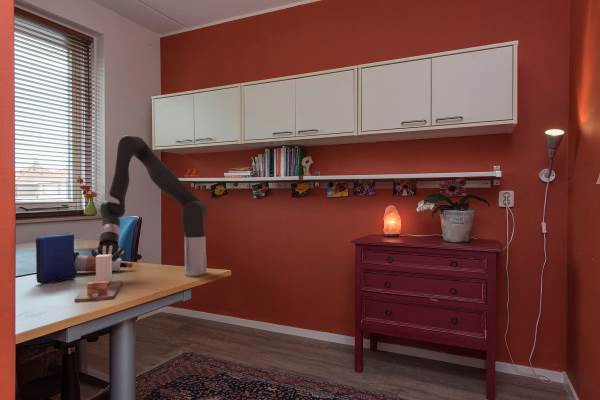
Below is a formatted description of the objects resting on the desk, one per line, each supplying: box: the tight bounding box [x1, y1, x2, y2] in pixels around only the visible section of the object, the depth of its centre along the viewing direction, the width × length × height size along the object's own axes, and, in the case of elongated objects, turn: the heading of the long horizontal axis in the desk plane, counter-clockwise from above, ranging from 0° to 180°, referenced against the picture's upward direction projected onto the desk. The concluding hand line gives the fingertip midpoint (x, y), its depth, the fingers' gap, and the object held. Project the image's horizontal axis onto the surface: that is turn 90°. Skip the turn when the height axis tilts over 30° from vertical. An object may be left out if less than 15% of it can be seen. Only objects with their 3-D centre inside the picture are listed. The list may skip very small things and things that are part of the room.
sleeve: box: [95, 254, 113, 284], centre depth 151 cm, size 5×5×11 cm
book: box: [35, 232, 77, 285], centre depth 159 cm, size 14×5×20 cm, turn 150°
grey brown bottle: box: [74, 251, 134, 274], centre depth 177 cm, size 10×34×10 cm, turn 108°
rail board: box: [74, 279, 123, 303], centre depth 142 cm, size 12×26×5 cm, turn 20°
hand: (105, 269), depth 155 cm, fingers closed
